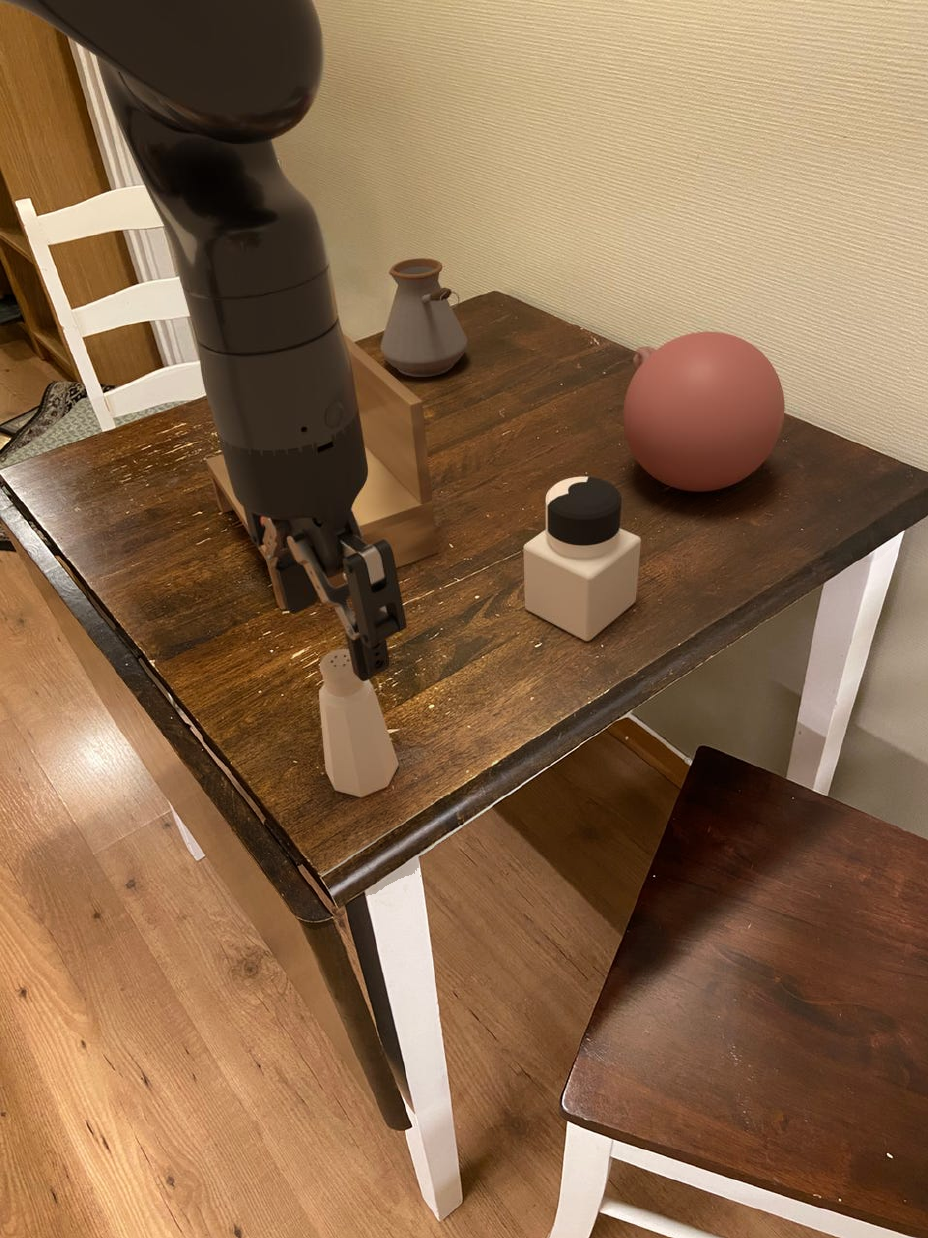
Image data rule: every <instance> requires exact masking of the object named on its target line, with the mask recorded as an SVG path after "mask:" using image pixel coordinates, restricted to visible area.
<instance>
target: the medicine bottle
mask: <svg viewBox="0 0 928 1238" xmlns="http://www.w3.org/2000/svg"><path fill="white" fill-rule="evenodd" d="M622 501H623V499H622V494H621V492H620V491H619V489H617V487H616V486H614V484H613V483H611V482H609V481H607V480H605V479H603V478H599V477H598V478H597V477H592V476H573V477H568V478H566V479H562V480H560V481H558V482H556V483H555V484H553V486H551V488H550V489H548V491H547V493H546V495H545V529H544V530H543V531H541V532H540V533H539V534H537V535H536V536H534V537H533V538H531V539H530V540H529V541H527V542H526V543H525V544H524V545H523V582H524V583H523V585H524V586H523V589H524V609H525V610H526V611H528V612H530V613H532V614H534V615H536V616H538V617H539V618H541V619H543V620H545V621H546V622H549V623H550V624H553V625H555V626H556V627H558V628H560V629H562V630H564V631H566V632H567V633H569V634H571V635H573V636H575V637H576V638H579V639H581V640H582V641H584V642H590V641H591V640H592V639H593V638H595V637H596V636H597V635H599V634H600V633H601V632H602V631H603V630H604V629H606V628H607V627H608V626H609V625H610V624H611V623H612V622H614V621H615V620H616V619H617V618H619V616H621V615H622V614H624V612H625V611H627V610H628V609H629V608H630V607H631V606H632V605H634V604H635V603H636V601H637V594H638V593H637V592H638V581H639V580H638V579H639V569H640V556H641V546H642V545H641V543H642V542H641V541H642V539H641V537H640V536H638V535H636V534H634V533H632V532H629V531H627V530H626V529H625V530H624V529H622V528H620V527H621V513H622Z"/></svg>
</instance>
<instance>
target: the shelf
mask: <svg viewBox="0 0 928 1238" xmlns="http://www.w3.org/2000/svg"><path fill="white" fill-rule="evenodd" d="M343 335H344V338H345V342H346V345H347V348H348V352H349V355H350V360H351V365H352V371H353V377H354V383H355V389H356V396H357V402H358V408H359V415H360V421H361V427H362V433H363V439H364V445H365V452H366V458H367V464H368V476H367V480H366V483H365V485H364V486H363V488H362V489H361V491H360V492H359V494H358V496H357V497H356V499H355V501H354V503H353V505H352V512H353V514H354V516H355V518H356V521H357V523H358V525H359V527H360V529H361V539H362V540H363V541H365V542H366V543H368V544H369V545H372V544H374V543H376V542H378V541H380V540H382V539H384V540H386V541H387V542H388V543H389V545H390V546H391V548H392V551H393V554H394V560H395V565H396V569H397V568H401V567H403V566H407V565H409V564H412V563H414V562H417V561H420V560H422V559H425V558H428V557H431V556H433V555H437V554H438V553H439V552H438V541H437V533H436V532H437V531H436V522H435V513H434V501H433V495H432V494H433V492H432V483H431V474H430V463H429V454H428V443H427V432H426V422H425V415H424V413H425V412H424V404H423V400H422V399H421V398H420V397H418V396H417V395H416V394H415V393H413V392H412V391H411V390H410V389H409V388H408V387H406V386H405V385H404V384H403V383H402V382H400V380H398V378H396V377H395V376H394V375H392V374H391V373H390V372H389V371H388V370H387V369H385V367H383V366H382V365H381V364H380V363H379V362H377V360H375V359H374V358H372V356H370V355H369V354H368V353H367V352H366V351H365V350H363V348H361V347H360V346H359V345H358V344H356V343H355V342H354V341H353V340H352V339H351V338H349V336H347V335H346V333H344V332H343ZM205 464H206V468H207V471H208V474H209V478H210V480H211V484H212V488H213V491H214V494H215V498H216V502H217V505H218V508H219V510H220V511H221V513H222V514H225V513H228V512H231V511H234V513H235V514H236V516H237V517H238V518H239V521H240V522H241V524H242V525H243V527H244V528H245V530H246V532H247V533H248V534H249V537H251V535H250V532H249V528H248V524H247V520H246V516H245V512H244V508H243V506H242V505H241V504H240V503H239V502H238V500H237V499H236V497H235V495H234V492H233V489H232V485H231V482H230V478H229V474H228V471H227V467H226V464H225V460H224V457H223V453H222V454H219V455H215V456H212V457H208V458H206V459H205ZM266 518H267V517H263V516H262V517H261V524H262V525H263V524H264V522H265V519H266ZM257 549H258V550H259V552H260V553H261V555H262V557H263V558H264V560H265V561H266V566H267V568H268V573H269V577H270V580H271V585H272V588H273V592H274V596H275V600H276V604H277V605H278V607H279V608H280V610H281V611H284V610H287V608H286V607H285V606H284V602H283V598H282V594H281V590H280V587H279V583H278V579H277V575H276V571H275V567H272V566H271V565H270V563H268V561H267V559H266V554H265V550H266V546H265V545H262V546H260V547H257ZM344 572H345V571H344ZM344 572H342V573H340V574H338V575H336V576H334V577H332V578H329V579H328V581H329V583H330V585H331V586H333V587H335V588H337V587H339V586H341V585H343V584H345V583H347V581H346V580H345V579H344V578H343V573H344ZM317 594H318V593H317ZM318 598H320V597H319V595H318Z"/></svg>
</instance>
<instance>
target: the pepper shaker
mask: <svg viewBox="0 0 928 1238" xmlns="http://www.w3.org/2000/svg"><path fill="white" fill-rule="evenodd" d="M319 671H320V673H321V676H322V681H323V683H322V686H321V688H320V689H319V691H318V701H319V702H318V703H319V712H320V714H319V715H320V723H321V732H322V733H321V735H322V745H323V755H324V767H325V772H326V774H327V776H328V778H329V781H330V783H331V785H332V787H333V790H334V791H335V792H339V793H342V794H347V795H351V796H354V797H358V798H364V797H366V796H369V795H371V794H373V793H376V792H379V791H380V790H383V789H386V788H388V787H389V785H390V783H391V781H392V780H393V777H394V775H395V773H396V771H397V770H398V767H399V766H400V764H399V763H400V762H399V761H398V759H397V758H398V757H397V755H396V751H395V749H394V745H393V742H392V740H391V736H390V734H389V731H388V727H387V723H386V720H385V718H384V714H383V712H382V709H381V705H380V703H379V700H378V695H377V694H376V691H375V689H374V686H373V684H372V682H371V680H370V679H368V680H366V681H361V680H360V679H359V678H358V677H357V676H356V675H355V674H354V672H353V667H352V662H351V658H350V653H349V648H339V649H335V650H332V651H330V652H327V654H325V655H324V656H323V657H322V659H321V660H320V662H319Z"/></svg>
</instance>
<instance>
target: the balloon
mask: <svg viewBox="0 0 928 1238" xmlns="http://www.w3.org/2000/svg"><path fill="white" fill-rule="evenodd" d="M635 352H636V354H634V357H633V359H632V363H633V366H634V368H635V370H636V371H635V373H634V375H633V376H632V379H631V380H630V383H629V384H628V387H627V390H626V394H625V398H624V402H623V410H622V424H623V431H624V435H625V439H626V442H627V445H628V448H629V449H630V452H631V453H632V455H633V457H634V458H635V460H636V461H637V462H638V464H639V465H640V466H641V467H642V469H644V470H645V471H646V473H647V474H649V475H650V476H651V477H653V478H654V479H656V480H657V481H659V482H660V483H662V484H663V485H666V486H667V487H670V488H671V487H672V488H674V489H678V490H681V491H686V492H695V493H696V492H697V493H700V492H701V493H702V492H703V493H704V492H712V491H717V490H721V489H724V488H728V487H731V486H732V485H735V484H737V483H739V482H741V481H743V480H744V479H746V478H747V477H748V476H750V475H751V474H752V473H754V472H755V471H756V470H757V469H758V468H759V467H760V466H761V465H763V463H764V462H765V461H766V460H767V459H768V457H769V456H770V454H771V452H772V451H773V450H774V448H775V446H776V444H777V443H778V440H779V437H780V435H781V432H782V429H783V424H784V419H785V410H786V409H785V407H786V406H785V405H786V404H785V403H786V402H785V394H784V389H783V385H782V383H781V379H780V377H779V374H778V373H777V371H776V368H775V367H774V366H773V364H772V362H771V361H770V360H769V358H768V357H767V356H766V355H765V354H764V353H763V352H762V351H761V350H760V349H759V348H757V347H756V346H755V345H753V344H752V343H750V342H749V341H747V340H745V339H744V338H741V337H739V336H737V335H734V334H729V333H725V332H721V331H697V332H696V331H695V332H690V333H687V334H684V335H681V336H678V337H675V338H673V339H671V340H669V341H667V342H666V343H663V344H662V345H661V346H660V347H658V348H657V349H656V348H654V347H651V346H649V345H646V346H640V347H638V348H636V350H635Z"/></svg>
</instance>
